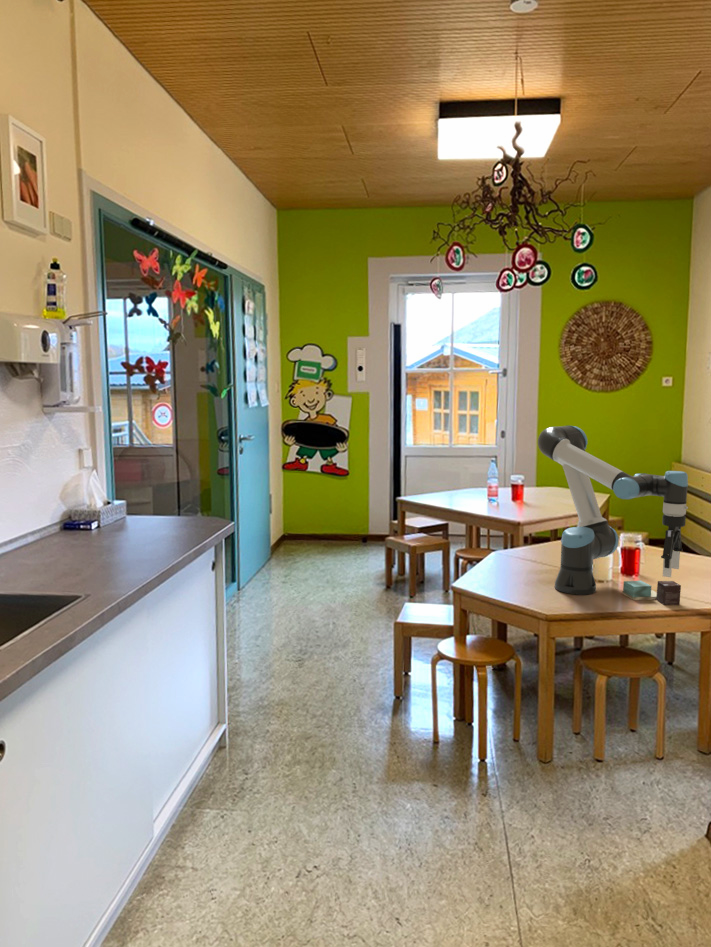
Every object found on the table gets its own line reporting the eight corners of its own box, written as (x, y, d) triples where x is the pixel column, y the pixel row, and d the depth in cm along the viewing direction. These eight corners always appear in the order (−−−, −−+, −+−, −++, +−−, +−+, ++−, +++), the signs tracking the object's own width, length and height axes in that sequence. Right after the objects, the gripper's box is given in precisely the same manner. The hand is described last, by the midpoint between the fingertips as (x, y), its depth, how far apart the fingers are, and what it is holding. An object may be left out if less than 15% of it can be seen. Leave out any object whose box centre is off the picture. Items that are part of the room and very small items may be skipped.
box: (672, 600, 261) (673, 580, 260) (680, 605, 255) (681, 585, 254) (655, 600, 261) (657, 580, 260) (663, 605, 255) (664, 585, 254)
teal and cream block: (633, 600, 260) (634, 587, 260) (622, 593, 268) (622, 580, 267) (663, 598, 262) (664, 585, 262) (651, 592, 270) (652, 579, 269)
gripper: (678, 521, 242) (674, 581, 244) (692, 510, 262) (688, 566, 264) (655, 518, 246) (651, 578, 248) (670, 508, 266) (667, 563, 269)
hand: (670, 572), depth 256 cm, fingers open, 13 cm apart
